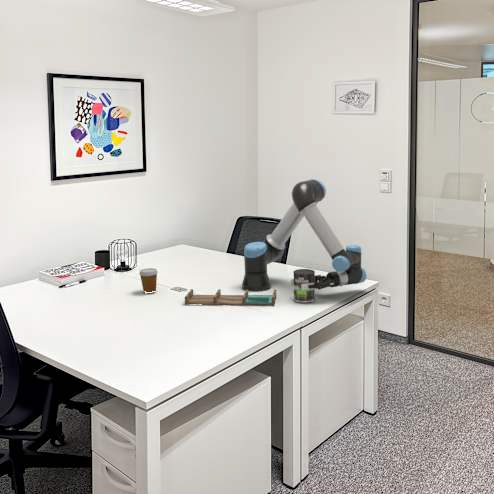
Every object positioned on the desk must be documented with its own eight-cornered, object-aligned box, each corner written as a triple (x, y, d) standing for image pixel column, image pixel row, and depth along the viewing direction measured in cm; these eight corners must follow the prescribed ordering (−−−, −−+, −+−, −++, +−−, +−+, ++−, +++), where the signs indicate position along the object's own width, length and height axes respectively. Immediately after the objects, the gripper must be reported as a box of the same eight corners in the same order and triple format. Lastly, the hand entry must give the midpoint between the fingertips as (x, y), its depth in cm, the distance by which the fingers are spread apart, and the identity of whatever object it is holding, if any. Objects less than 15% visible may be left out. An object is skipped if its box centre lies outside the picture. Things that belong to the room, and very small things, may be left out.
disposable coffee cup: (155, 295, 306) (153, 272, 303) (137, 294, 308) (136, 272, 305) (161, 290, 315) (160, 268, 312) (144, 289, 317) (143, 267, 314)
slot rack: (191, 296, 301) (191, 289, 300) (276, 297, 295) (276, 289, 294) (185, 305, 287) (184, 297, 286) (274, 305, 281) (273, 297, 281)
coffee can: (311, 303, 282) (311, 274, 279) (291, 301, 286) (290, 273, 283) (317, 297, 292) (317, 269, 289) (297, 295, 295) (297, 268, 292)
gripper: (348, 291, 284) (307, 298, 276) (325, 280, 305) (286, 286, 297) (348, 276, 283) (307, 282, 275) (325, 266, 303) (285, 272, 295)
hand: (296, 284), depth 286 cm, fingers closed on coffee can, 10 cm apart
